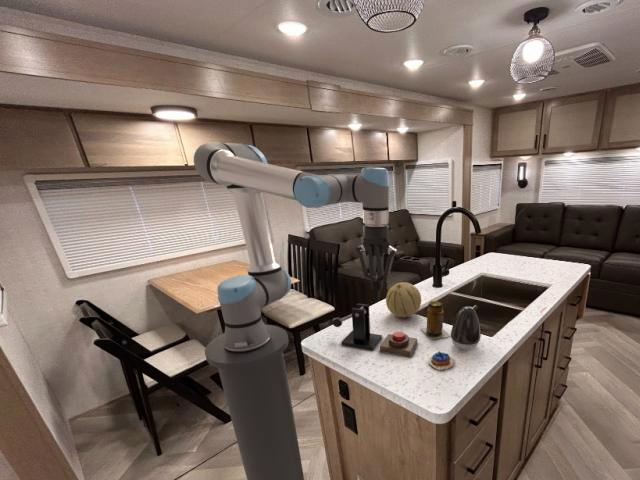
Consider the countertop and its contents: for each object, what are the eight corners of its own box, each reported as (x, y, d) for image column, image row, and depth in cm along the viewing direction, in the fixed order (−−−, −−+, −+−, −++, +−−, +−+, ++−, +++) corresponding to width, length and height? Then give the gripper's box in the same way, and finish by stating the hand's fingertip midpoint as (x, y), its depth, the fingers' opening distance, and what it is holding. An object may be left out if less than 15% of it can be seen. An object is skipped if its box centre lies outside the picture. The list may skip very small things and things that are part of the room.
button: (391, 340, 110) (391, 335, 109) (395, 334, 113) (395, 330, 113) (402, 342, 109) (402, 337, 108) (406, 336, 112) (406, 332, 111)
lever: (334, 330, 116) (328, 321, 115) (338, 325, 119) (333, 317, 118) (364, 316, 110) (358, 307, 109) (368, 312, 113) (363, 303, 112)
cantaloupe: (425, 311, 140) (426, 279, 134) (414, 325, 127) (415, 290, 122) (394, 306, 145) (393, 275, 139) (380, 319, 132) (379, 285, 127)
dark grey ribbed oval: (485, 346, 113) (490, 306, 107) (468, 357, 107) (472, 316, 101) (461, 335, 120) (464, 298, 114) (444, 345, 113) (446, 306, 107)
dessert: (435, 370, 98) (432, 351, 100) (427, 371, 104) (424, 353, 106) (458, 367, 101) (455, 348, 102) (449, 368, 107) (446, 350, 108)
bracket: (341, 345, 114) (338, 309, 109) (352, 333, 122) (350, 300, 116) (372, 350, 111) (371, 314, 105) (381, 338, 118) (381, 304, 113)
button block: (379, 351, 110) (379, 341, 108) (388, 339, 118) (388, 329, 116) (410, 356, 107) (410, 346, 105) (417, 343, 115) (417, 333, 113)
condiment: (438, 326, 127) (440, 299, 122) (448, 336, 119) (450, 307, 115) (421, 329, 124) (422, 301, 120) (431, 340, 117) (432, 310, 112)
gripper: (350, 225, 92) (353, 300, 101) (393, 228, 89) (392, 305, 98) (360, 221, 99) (362, 292, 108) (400, 223, 95) (399, 297, 105)
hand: (376, 298), depth 103 cm, fingers closed
